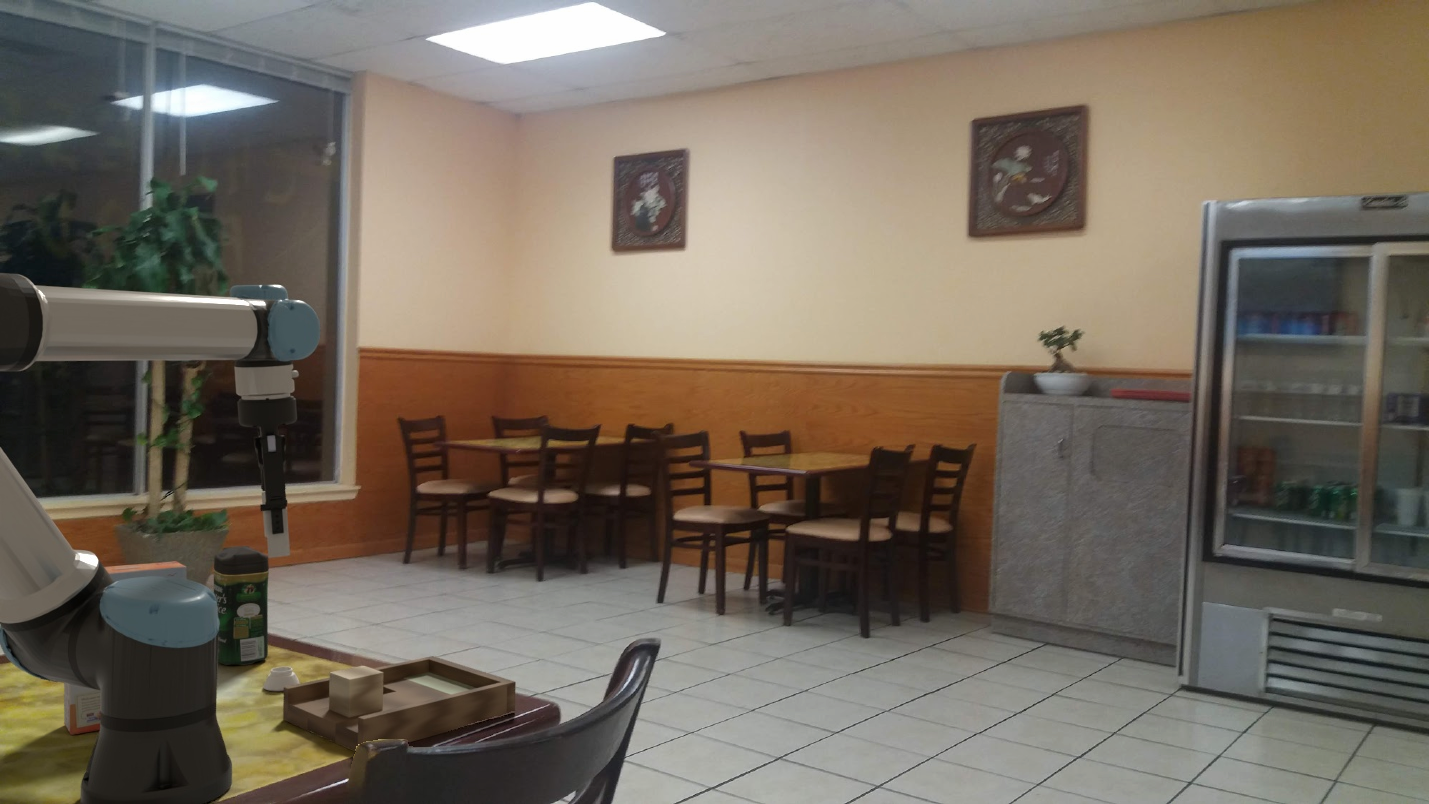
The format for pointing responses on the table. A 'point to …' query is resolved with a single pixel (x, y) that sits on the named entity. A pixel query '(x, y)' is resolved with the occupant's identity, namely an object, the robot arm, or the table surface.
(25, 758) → the table surface
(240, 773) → the table surface
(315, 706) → the box
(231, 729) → the table surface
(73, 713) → the cracker box
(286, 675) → the white tapered collar
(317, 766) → the table surface
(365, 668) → the maple cube
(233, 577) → the coffee jar
